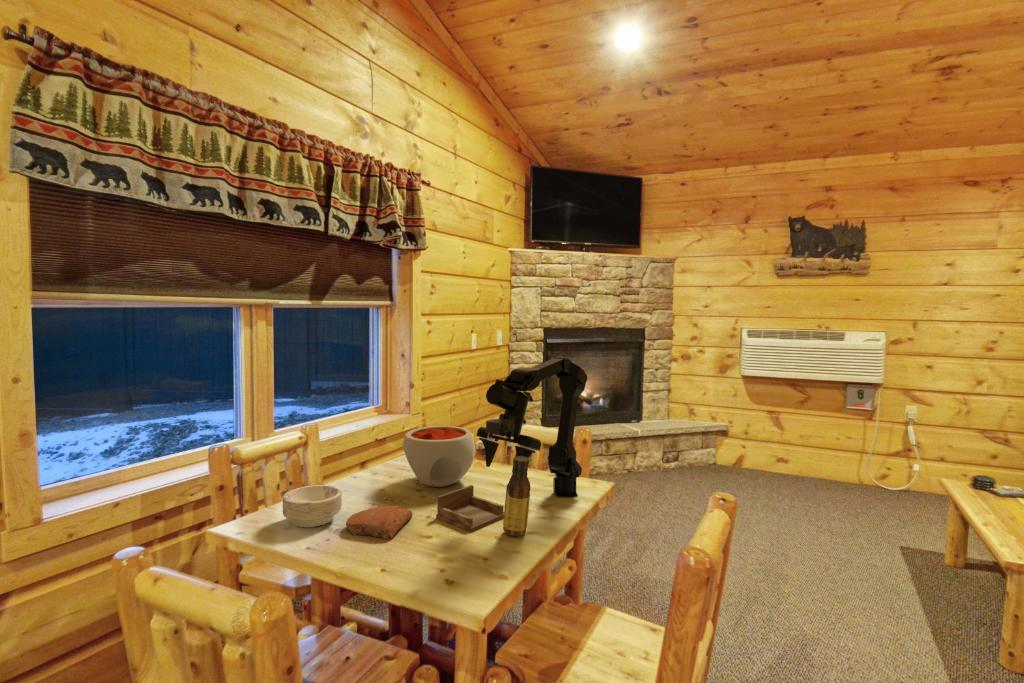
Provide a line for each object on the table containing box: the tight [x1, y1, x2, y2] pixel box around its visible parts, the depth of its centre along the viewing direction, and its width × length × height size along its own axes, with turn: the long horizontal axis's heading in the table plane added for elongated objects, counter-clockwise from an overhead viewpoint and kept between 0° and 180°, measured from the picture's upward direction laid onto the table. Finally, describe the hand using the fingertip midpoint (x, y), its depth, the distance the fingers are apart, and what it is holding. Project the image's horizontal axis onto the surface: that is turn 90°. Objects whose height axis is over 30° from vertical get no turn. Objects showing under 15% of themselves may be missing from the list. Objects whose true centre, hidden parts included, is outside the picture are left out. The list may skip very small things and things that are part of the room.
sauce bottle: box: [502, 455, 531, 537], centre depth 139 cm, size 6×6×20 cm
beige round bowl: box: [282, 484, 343, 528], centre depth 147 cm, size 15×15×8 cm
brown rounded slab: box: [345, 505, 413, 540], centre depth 144 cm, size 15×6×15 cm
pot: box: [402, 425, 476, 488], centre depth 179 cm, size 24×24×18 cm
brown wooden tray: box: [435, 484, 504, 533], centre depth 150 cm, size 14×14×6 cm
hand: (500, 470), depth 144 cm, fingers open, 9 cm apart
